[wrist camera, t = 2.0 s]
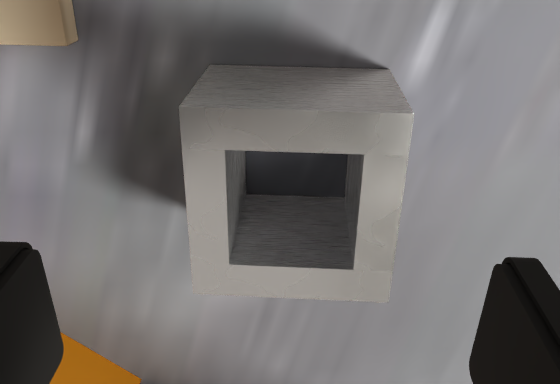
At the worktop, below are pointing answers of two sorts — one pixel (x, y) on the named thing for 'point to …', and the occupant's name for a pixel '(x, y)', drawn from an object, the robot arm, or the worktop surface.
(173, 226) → the worktop surface
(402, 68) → the worktop surface
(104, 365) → the bracket
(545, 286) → the robot arm
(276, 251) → the collar
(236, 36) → the worktop surface
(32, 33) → the post stand
